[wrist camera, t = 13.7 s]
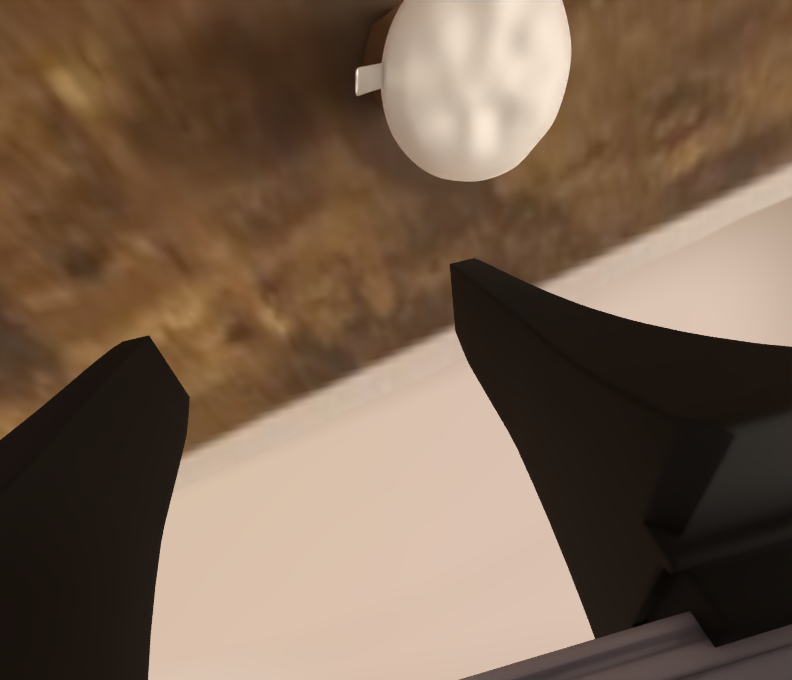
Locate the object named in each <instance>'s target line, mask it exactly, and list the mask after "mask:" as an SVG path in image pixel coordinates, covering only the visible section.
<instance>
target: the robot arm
mask: <svg viewBox="0 0 792 680" xmlns="http://www.w3.org/2000/svg"><path fill="white" fill-rule="evenodd" d="M450 272H451V284H452V296H453V308H454V320H455V331H456V334H457V336H458V339H459V341H460V344H461V346H462V349H463V351H464V354H465V356H466V358H467V361H468V363H469V365H470V367H471V368H472V370H473V372H474V374H475V375H476V377H477V379H478V381H479V382H480V384H481V386H482V387H483V389H484V391H485V393H486V394H487V396H488V397H489V399H490V401H491V403H492V404H493V406H494V408H495V410H496V411H497V413H498V415H499V416H500V418H501V420H502V421H503V423H504V425H505V426H506V428H507V430H508V432H509V434H510V435H511V437H512V439H513V441H514V443H515V445H516V447H517V449H518V451H519V453H520V455H521V458H522V460H523V462H524V464H525V467H526V469H527V471H528V473H529V476H530V478H531V480H532V482H533V484H534V487H535V489H536V492H537V494H538V496H539V498H540V501H541V503H542V506H543V508H544V510H545V512H546V515H547V517H548V519H549V521H550V524H551V527H552V529H553V532H554V534H555V537H556V539H557V541H558V544H559V546H560V549H561V551H562V554H563V556H564V558H565V561H566V563H567V566H568V568H569V571H570V574H571V576H572V579H573V581H574V584H575V586H576V589H577V592H578V594H579V597H580V599H581V602H582V605H583V607H584V610H585V613H586V615H587V618H588V620H589V623H590V626H591V629H592V631H593V634H594V637H595V639H594V640H591V641H587V642H584V643H581V644H577V645H574V646H570V647H567V648H564V649H561V650H557V651H554V652H550V653H547V654H544V655H540V656H537V657H534V658H530V659H527V660H524V661H520V662H517V663H514V664H510V665H507V666H504V667H500V668H497V669H494V670H490V671H487V672H484V673H480V674H477V675H474V676H470V677H467V678H464V679H460V680H792V347H787V346H778V345H767V344H758V343H750V342H744V341H737V340H730V339H723V338H717V337H709V336H704V335H699V334H692V333H687V332H682V331H677V330H672V329H668V328H663V327H659V326H654V325H649V324H645V323H641V322H637V321H633V320H629V319H625V318H622V317H618V316H615V315H612V314H608V313H605V312H601V311H598V310H595V309H592V308H589V307H586V306H583V305H580V304H577V303H575V302H572V301H570V300H567V299H564V298H562V297H559V296H557V295H554V294H552V293H549V292H547V291H544V290H542V289H540V288H538V287H535V286H533V285H531V284H529V283H526V282H524V281H522V280H520V279H518V278H516V277H514V276H512V275H510V274H507V273H505V272H503V271H501V270H499V269H497V268H495V267H493V266H491V265H489V264H487V263H485V262H482V261H480V260H477V259H475V258H473V259H469V260H465V261H461V262H456V263H452V264H450ZM189 398H190V397H189V396H188V394H187V393H186V391H185V390H184V388H183V386H182V385H181V383H180V382H179V380H178V379H177V377H176V376H175V374H174V373H173V371H172V370H171V368H170V367H169V365H168V364H167V362H166V361H165V359H164V358H163V356H162V354H161V353H160V351H159V350H158V348H157V347H156V345H155V344H154V342H153V341H152V339H151V338H150V336H145V337H140V338H136V339H132V340H128V341H124V342H121V343H120V344H118V345H117V346H115V347H114V348H112V349H111V350H110V351H108V352H107V353H106V354H104V355H103V356H102V357H101V358H99V359H98V360H97V361H96V362H94V363H93V364H92V365H91V366H90V367H88V368H87V369H86V370H85V371H84V372H82V373H81V374H80V375H79V376H78V377H77V378H75V379H74V380H73V381H72V382H71V383H70V384H68V385H67V386H66V387H65V388H64V389H62V390H61V391H60V392H59V393H58V394H57V395H55V396H54V397H53V398H52V399H51V400H49V401H48V402H47V403H46V404H45V405H44V406H42V407H41V408H40V409H39V410H37V411H36V412H35V413H34V414H32V415H31V416H30V417H29V418H27V419H26V420H25V421H24V422H22V423H21V424H20V425H19V426H17V427H16V428H15V429H14V430H12V431H11V432H10V433H9V434H7V435H6V436H5V437H4V438H2V439H1V440H0V680H148V668H149V653H150V635H151V624H152V615H153V605H154V594H155V584H156V577H157V569H158V562H159V554H160V547H161V540H162V535H163V529H164V525H165V521H166V517H167V512H168V509H169V505H170V500H171V497H172V493H173V489H174V485H175V481H176V477H177V473H178V469H179V465H180V461H181V457H182V452H183V448H184V444H185V439H186V435H187V426H188V415H189Z"/></svg>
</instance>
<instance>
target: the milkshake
mask: <svg viewBox="0 0 792 680" xmlns="http://www.w3.org/2000/svg"><path fill="white" fill-rule="evenodd" d="M363 60H364V64H365V66H360V67H357V68H356V70H355V95H356V96H361V95H364V94H367V93H369V92H373V94H374V96H375V97H376V99H377V101H378V103H379V105H380V107H381V108H382V110H383V112H384V115H385V117H386V120H387V123H388V126H389V128H390V131H391V133H392V135H393V137H394V138H395V140H396V142H397V143H398V145H399V146H400V148H401V149H402V150H403V152H404V153H405V154H406V155H407V156H408V157H409V158H410V159H411V160H412V161H413V162H414V163H415V164H416V165H418V166H419V167H420V168H422V169H423V170H425V171H426V172H428V173H430V174H432V175H434V176H436V177H439V178H443V179H447V180H454V181H466V182H471V181H482V180H487V179H490V178H494V177H497V176H499V175H502V174H504V173H506V172H508V171H510V170H511V169H513V168H514V167H516V166H517V165H518V164H519V163H520V162H521V161H522V160H523V159H524V158H525V157H526V156H527V155H528V154H529V153H530V152H531V150H532V149H533V148H534V147H535V146H536V144H537V143H538V142H539V141H540V140H541V139H542V137H543V136H544V135H545V134H546V132H547V131H548V130H549V128H550V127H551V125H552V124H553V122H554V120H555V118H556V116H557V114H558V111H559V109H560V106H561V103H562V99H563V96H564V93H565V89H566V85H567V81H568V76H569V70H570V63H571V39H570V31H569V26H568V21H567V17H566V12H565V8H564V5H563V1H562V0H401V1H400V2H399V4H398V5H396V6H395V7H394V8H393V9H391V10H390V11H389V12H388V13H386V14H385V15H384V16H383V17H381V18H380V19H379V20H378V21H376V22H375V23H374V24H372V27H371V30H370V34H369V37H368V40H367V44H366V47H365V50H364V54H363Z"/></svg>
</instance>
